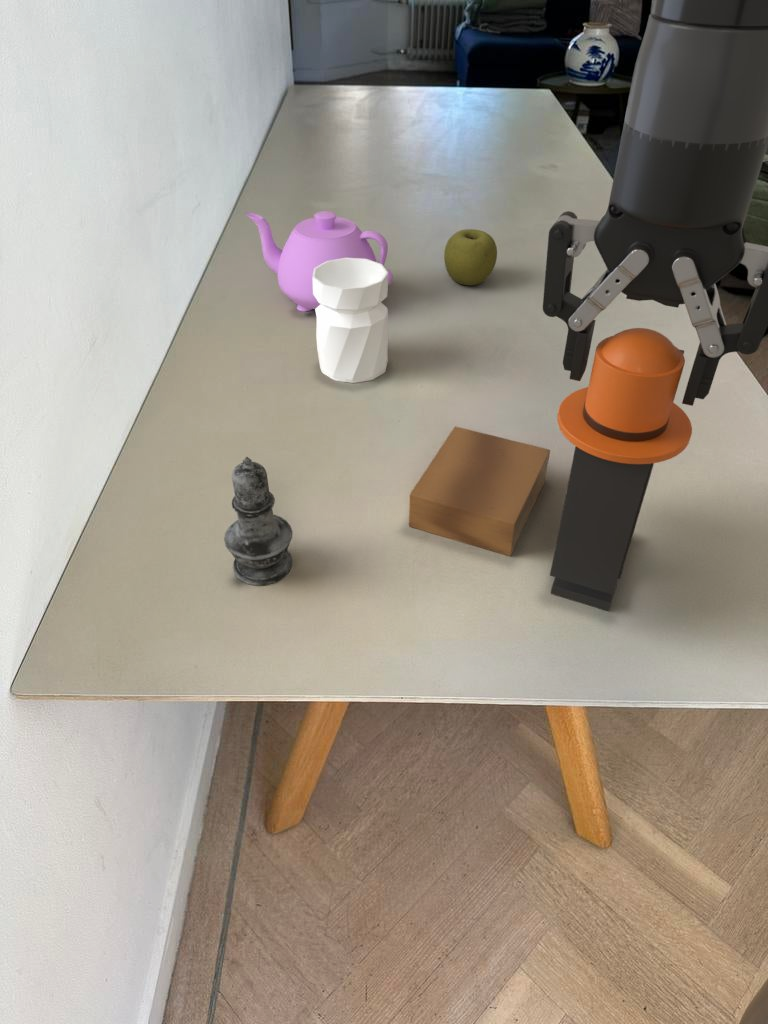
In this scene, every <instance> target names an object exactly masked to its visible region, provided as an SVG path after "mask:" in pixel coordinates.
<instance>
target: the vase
mask: <svg viewBox="0 0 768 1024" xmlns="http://www.w3.org/2000/svg"><path fill="white" fill-rule="evenodd" d="M312 280H313V295H314V296H315V298H316V299H317V301H318V302H319V303H320V305H319V306H318V307H317V308H316V309H314V311H315V315H316V325H315V326H316V327H315V329H316V330H315V334H316V335H315V336H316V337H315V338H316V339H315V340H316V350H317V357H318V362H319V368H320V370H321V373H322V374H324V375H325V376H327V377H328V378H330V379H331V380H332V381H337V382H343V383H350V384H355V383H361V382H369V381H374V380H375V379H376V378H378V377H379V376H382V375H383V374H385V373H386V370H387V366H388V364H389V354H388V346H389V345H388V344H389V309H388V307H387V306H386V305H385V304H384V303H383V301H384V300H386V298H388V291H389V290H388V288H389V285H388V272H387V271H386V268H385V265H384V266H383V265H382V264H380V263H378V261H377V262H374V261H371V260H368V259H363V258H341V259H335V260H330V261H326V262H324V263H322V264H321V265H319V266H317V267H315V268H314V271H313V277H312Z"/></svg>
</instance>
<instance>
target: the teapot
mask: <svg viewBox="0 0 768 1024" xmlns="http://www.w3.org/2000/svg"><path fill="white" fill-rule="evenodd" d="M244 214H245V215H246V216H247V217H248V218H249V219H250V220H251V221H252V222H254V224H255V225H256V227H257V229H258V231H259V237H260V242H261V243H260V244H261V251H262V255H263V259H264V261H265V263H266V265H267V267H268V268H269V269H270V270H271V271H272V272H273V273H275V274H276V275H277V284H278V286H279V288H280V290H281V292H282V293H283V294H284V295H285V296H286V297H287V298H288V299H290V300H291V302H293V303H294V304H296V305H297V306H296V309H297V310H298V311H299V312H310V311H313V310H315V309H316V308H317V307H318V306H319V305H320V303H319V302H318V301H317V299H316V298H315V296H314V295H313V280H312V277H313V271H314V268H315V267H317V266H319V265H321V264H322V263H324V262H326V261H330V260H335V259H341V258H363V259H368V260H371V261H374V262H377V263H380V264H382V265H383V266H384V267H385V263H386V261H387V257H388V249H389V247H388V242H387V239H386V238H385V236H384V235H382V234H381V233H379V232H377V231H374V230H364V231H362V230H361V229H360V228H359V227H358V225H357V224H356V223H355V222H353V221H352V220H350V219H348V218H344V217H339V216H337V214H336V213H335V212H333V211H329V210H322V211H321V210H320V211H318V212H315V214H314V215H313V216H314V217H311V218H307V219H304V220H302V221H300V222H299V223H297V224H296V225H295V226H294V228H293V229H292V231H291V232H290V234H289V237H288V238H287V240H286V242H285V244H284V247H283V249H281V248H280V247H279V246H277V244H276V243H275V240H274V237H273V233H272V229H271V226H270V224H269V222H268V221H267V220H266V218H264V217H263V216H262V215H260V214H256V213H253V212H247V211H246V212H245V213H244ZM368 239H369V240H374V241H376V242H377V243H378V244H379V246H380V253H379V259H378V261H377V258H376V256H375V253H374V251H373V248H372V246H371V245H370V242H369V241H368ZM385 269H386V268H385ZM386 271H387V272H388V286H389V285H391V284H392V283H393V279H394V278H393V277H394V276H393V273H392V272H391V271H390V270H389V269H386Z"/></svg>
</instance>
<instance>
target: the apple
mask: <svg viewBox="0 0 768 1024" xmlns="http://www.w3.org/2000/svg"><path fill="white" fill-rule="evenodd" d="M443 258H444V266H445V269H446V273H447V274H448V276H449V277H450V279H452V281H454V282H455V283H457V284H459V285H464V286H477V285H480V284H482V283H483V282H485V281H486V280H487V279H488V278H489V277H490V275H491V274H492V272H493V271H494V268H495V266H496V263H497V260H498V248H497V244H496V242H495V239H494V238H493V236H491V235H490V234H489V233H487V232H486V231H483V230H479V229H472V228H471V229H470V228H467V229H461V230H458V231H456V232H455V233H454V234H452V235H451V236H450V237H449V239H448V240H447V242H446V244H445V248H444V253H443Z"/></svg>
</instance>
